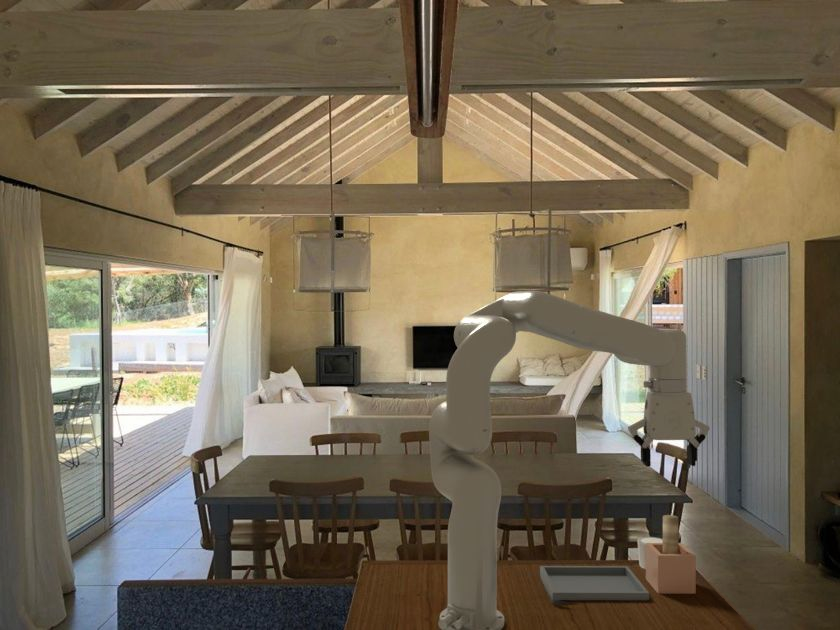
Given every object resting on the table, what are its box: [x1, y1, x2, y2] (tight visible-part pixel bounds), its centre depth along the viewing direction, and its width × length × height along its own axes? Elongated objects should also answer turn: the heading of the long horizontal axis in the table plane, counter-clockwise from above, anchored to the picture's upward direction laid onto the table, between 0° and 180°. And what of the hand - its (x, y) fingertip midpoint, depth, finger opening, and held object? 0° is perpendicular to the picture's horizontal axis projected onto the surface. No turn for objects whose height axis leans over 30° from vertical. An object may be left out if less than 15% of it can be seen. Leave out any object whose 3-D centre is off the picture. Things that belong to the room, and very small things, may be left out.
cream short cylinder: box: [637, 536, 663, 570], centre depth 165 cm, size 7×7×7 cm
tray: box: [539, 565, 650, 606], centre depth 153 cm, size 20×15×2 cm
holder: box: [645, 542, 697, 595], centre depth 153 cm, size 8×8×9 cm
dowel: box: [662, 514, 679, 554], centre depth 153 cm, size 3×3×15 cm
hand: (668, 464), depth 153 cm, fingers open, 9 cm apart
